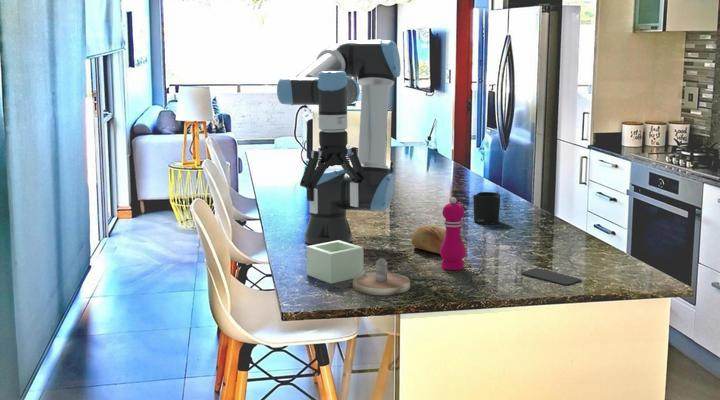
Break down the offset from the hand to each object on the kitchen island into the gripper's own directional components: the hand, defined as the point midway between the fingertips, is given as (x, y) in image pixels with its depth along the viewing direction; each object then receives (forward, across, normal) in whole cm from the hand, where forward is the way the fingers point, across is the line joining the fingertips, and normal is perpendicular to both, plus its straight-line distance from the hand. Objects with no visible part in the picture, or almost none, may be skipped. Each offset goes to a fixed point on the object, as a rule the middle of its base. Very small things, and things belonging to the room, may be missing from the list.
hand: (334, 209), depth 212 cm
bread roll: (+19, +38, +2) cm, 42 cm away
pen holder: (+18, +81, +19) cm, 85 cm away
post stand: (+18, +3, -16) cm, 24 cm away
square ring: (+18, 0, 0) cm, 18 cm away
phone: (+19, +43, -39) cm, 61 cm away
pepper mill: (+18, +30, -15) cm, 38 cm away
